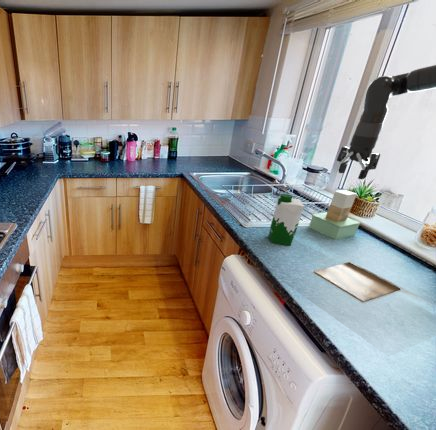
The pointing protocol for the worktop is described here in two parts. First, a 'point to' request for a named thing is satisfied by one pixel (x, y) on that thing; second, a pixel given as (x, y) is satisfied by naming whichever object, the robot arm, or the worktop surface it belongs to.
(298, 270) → the worktop surface
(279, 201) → the milk carton
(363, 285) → the shiny metal sheet
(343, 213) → the kraft box
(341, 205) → the cream box
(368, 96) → the robot arm
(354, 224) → the storage box
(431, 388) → the worktop surface
